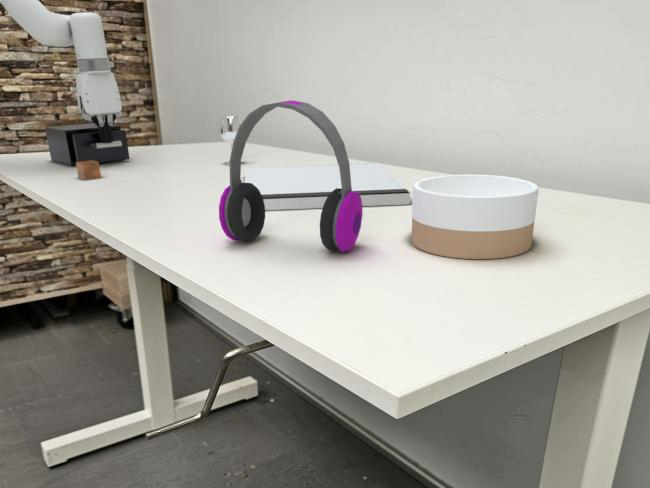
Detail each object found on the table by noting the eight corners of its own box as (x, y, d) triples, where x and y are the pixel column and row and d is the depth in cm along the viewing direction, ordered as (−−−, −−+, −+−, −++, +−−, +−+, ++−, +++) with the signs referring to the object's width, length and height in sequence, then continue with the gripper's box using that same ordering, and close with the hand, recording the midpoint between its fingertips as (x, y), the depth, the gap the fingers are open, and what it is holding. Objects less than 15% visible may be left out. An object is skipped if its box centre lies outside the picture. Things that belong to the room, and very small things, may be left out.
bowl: (533, 263, 79) (541, 199, 75) (402, 255, 83) (404, 194, 80) (530, 230, 94) (536, 175, 91) (419, 225, 98) (421, 172, 95)
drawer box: (125, 160, 173) (120, 125, 170) (71, 167, 164) (64, 130, 160) (103, 156, 183) (98, 122, 179) (51, 162, 174) (44, 127, 170)
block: (85, 180, 144) (82, 163, 142) (78, 178, 147) (75, 162, 145) (101, 178, 146) (98, 161, 145) (94, 176, 149) (91, 160, 147)
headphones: (215, 247, 89) (201, 103, 81) (246, 232, 97) (236, 99, 89) (346, 261, 81) (344, 103, 74) (368, 244, 89) (369, 99, 81)
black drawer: (137, 160, 167) (133, 130, 164) (86, 166, 158) (80, 135, 155) (108, 154, 179) (104, 127, 176) (60, 160, 170) (54, 131, 167)
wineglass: (220, 163, 164) (216, 117, 159) (241, 161, 166) (237, 115, 161) (226, 166, 159) (222, 118, 154) (247, 164, 161) (244, 117, 156)
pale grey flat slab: (410, 191, 111) (241, 198, 109) (410, 204, 112) (242, 211, 110) (378, 162, 143) (246, 167, 141) (378, 173, 144) (247, 178, 142)
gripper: (115, 66, 161) (127, 137, 168) (59, 68, 152) (74, 144, 159) (128, 65, 156) (139, 139, 163) (70, 68, 147) (85, 146, 154)
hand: (107, 141), depth 161 cm, fingers closed
